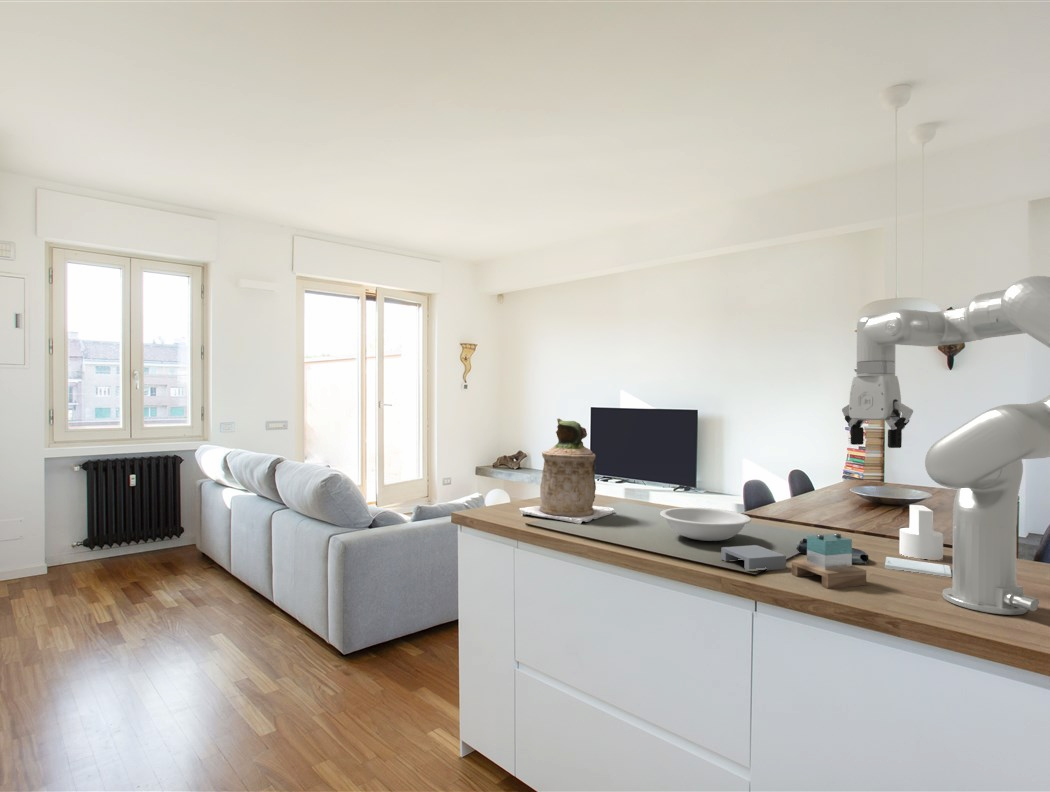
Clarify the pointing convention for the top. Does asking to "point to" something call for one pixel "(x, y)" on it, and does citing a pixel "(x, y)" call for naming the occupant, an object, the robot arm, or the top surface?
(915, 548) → the cylinder with rectangular tab
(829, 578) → the stand
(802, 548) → the electronic device
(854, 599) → the top surface
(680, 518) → the soup bowl
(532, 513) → the cookie jar
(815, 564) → the block
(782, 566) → the stand
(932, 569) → the hard drive
